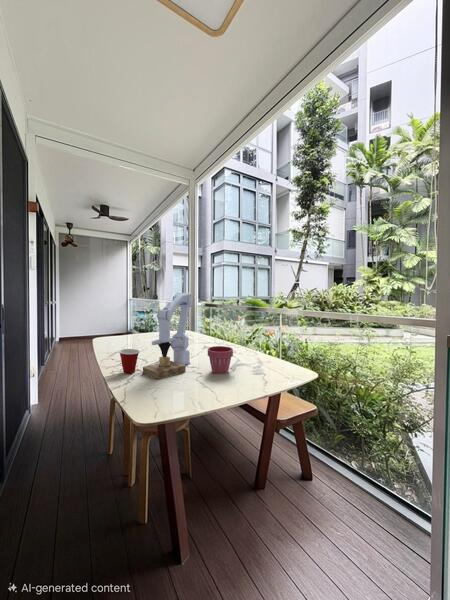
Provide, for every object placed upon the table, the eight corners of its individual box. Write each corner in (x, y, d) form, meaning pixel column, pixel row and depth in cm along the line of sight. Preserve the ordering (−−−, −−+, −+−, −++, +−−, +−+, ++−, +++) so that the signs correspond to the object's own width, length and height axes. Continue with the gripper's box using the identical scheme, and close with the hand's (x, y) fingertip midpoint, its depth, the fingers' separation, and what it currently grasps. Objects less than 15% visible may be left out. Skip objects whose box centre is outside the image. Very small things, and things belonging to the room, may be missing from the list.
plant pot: (230, 376, 138) (231, 352, 138) (204, 374, 141) (204, 350, 140) (234, 368, 152) (234, 346, 152) (210, 367, 155) (210, 345, 154)
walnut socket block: (170, 366, 155) (170, 360, 155) (185, 371, 145) (185, 365, 145) (142, 373, 142) (142, 366, 142) (157, 379, 132) (157, 372, 132)
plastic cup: (135, 375, 138) (135, 352, 138) (115, 375, 139) (115, 352, 138) (142, 369, 149) (142, 348, 149) (123, 369, 149) (123, 348, 149)
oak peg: (165, 370, 146) (165, 355, 146) (170, 371, 144) (170, 357, 143) (159, 371, 143) (159, 357, 143) (163, 373, 141) (163, 358, 140)
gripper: (156, 333, 135) (156, 360, 135) (179, 331, 145) (179, 355, 146) (149, 332, 140) (149, 357, 140) (172, 329, 150) (172, 353, 151)
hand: (164, 356), depth 143 cm, fingers closed
